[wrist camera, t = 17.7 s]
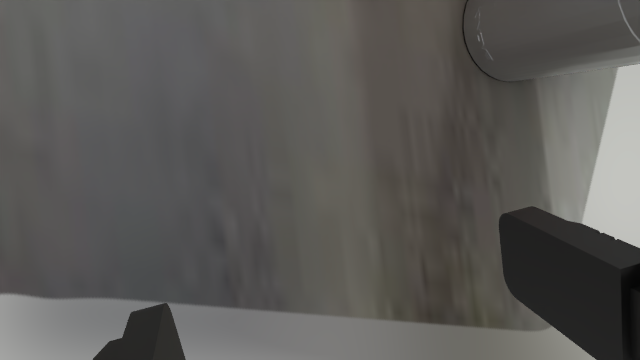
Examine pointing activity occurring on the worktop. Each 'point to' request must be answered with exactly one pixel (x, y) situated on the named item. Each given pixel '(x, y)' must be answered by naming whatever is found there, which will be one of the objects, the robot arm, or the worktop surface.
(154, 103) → the worktop surface
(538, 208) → the robot arm
